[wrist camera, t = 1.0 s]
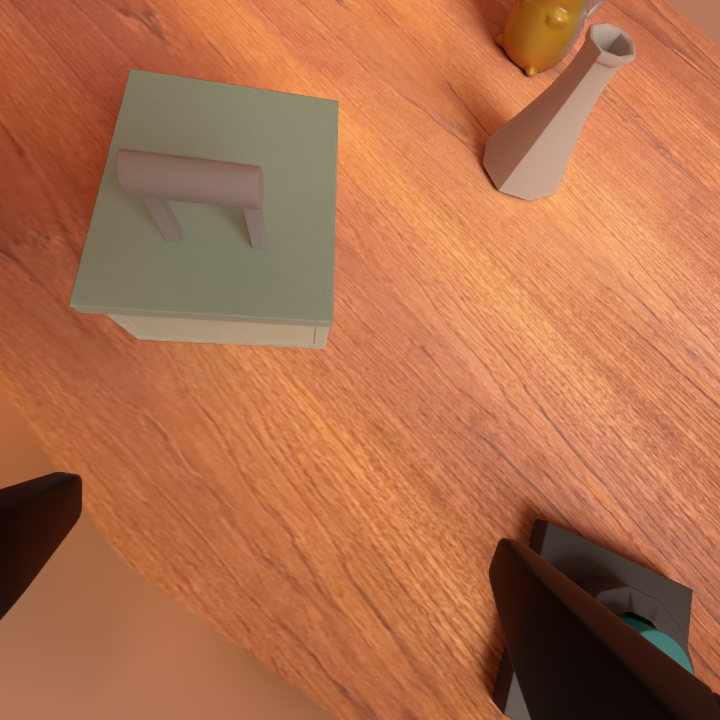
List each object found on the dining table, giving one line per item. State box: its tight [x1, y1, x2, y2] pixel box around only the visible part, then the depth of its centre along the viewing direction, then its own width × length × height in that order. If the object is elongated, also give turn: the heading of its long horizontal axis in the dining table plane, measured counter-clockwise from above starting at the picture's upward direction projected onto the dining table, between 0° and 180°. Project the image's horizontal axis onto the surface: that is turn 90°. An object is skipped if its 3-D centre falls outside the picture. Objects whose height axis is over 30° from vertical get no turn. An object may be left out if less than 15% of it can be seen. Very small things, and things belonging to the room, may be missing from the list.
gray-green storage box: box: [106, 314, 329, 349], centre depth 22 cm, size 14×12×6 cm
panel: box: [492, 519, 694, 720], centre depth 20 cm, size 10×10×3 cm
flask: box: [483, 22, 635, 201], centre depth 26 cm, size 7×7×10 cm
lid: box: [69, 69, 339, 328], centre depth 17 cm, size 14×12×5 cm
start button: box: [619, 616, 694, 675], centre depth 18 cm, size 4×4×2 cm
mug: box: [496, 0, 606, 77], centre depth 34 cm, size 12×7×7 cm, turn 121°
